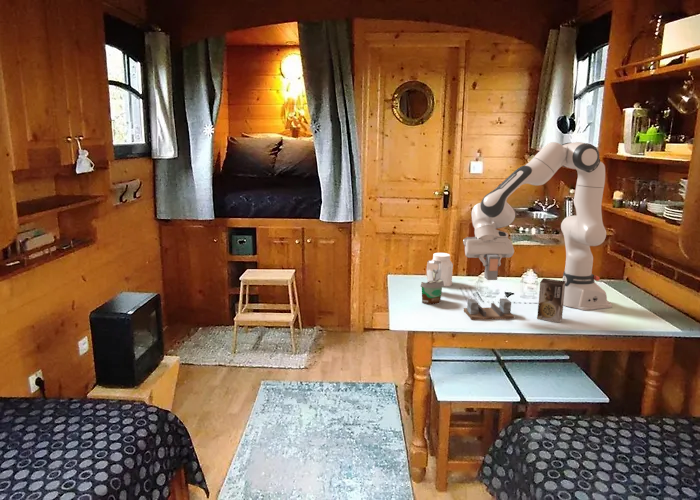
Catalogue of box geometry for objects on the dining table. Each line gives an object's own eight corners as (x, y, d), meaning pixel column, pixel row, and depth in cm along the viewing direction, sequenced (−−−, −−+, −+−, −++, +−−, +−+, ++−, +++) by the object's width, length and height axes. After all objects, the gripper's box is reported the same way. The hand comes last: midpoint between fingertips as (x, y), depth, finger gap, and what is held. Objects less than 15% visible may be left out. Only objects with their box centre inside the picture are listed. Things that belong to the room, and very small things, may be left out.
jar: (429, 285, 270) (430, 256, 266) (428, 280, 279) (429, 251, 276) (452, 286, 269) (454, 257, 265) (450, 281, 278) (452, 252, 275)
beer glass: (440, 295, 256) (441, 264, 252) (425, 293, 257) (426, 263, 254) (440, 290, 262) (442, 260, 259) (426, 289, 264) (427, 259, 260)
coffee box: (562, 318, 227) (566, 281, 223) (559, 323, 221) (563, 284, 218) (539, 314, 231) (543, 277, 228) (536, 318, 226) (539, 281, 222)
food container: (430, 307, 239) (431, 285, 236) (419, 303, 243) (420, 282, 241) (448, 301, 246) (449, 280, 244) (438, 298, 251) (439, 277, 249)
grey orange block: (493, 277, 229) (495, 254, 226) (497, 280, 224) (499, 256, 222) (484, 277, 228) (486, 254, 226) (487, 280, 224) (489, 256, 222)
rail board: (504, 309, 236) (505, 296, 235) (513, 318, 226) (515, 304, 224) (463, 310, 235) (464, 296, 233) (471, 319, 224) (472, 305, 223)
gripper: (464, 233, 228) (469, 261, 221) (511, 233, 230) (518, 261, 223) (460, 241, 234) (465, 269, 226) (506, 241, 235) (513, 269, 228)
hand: (492, 265), depth 225 cm, fingers closed on grey orange block, 4 cm apart
